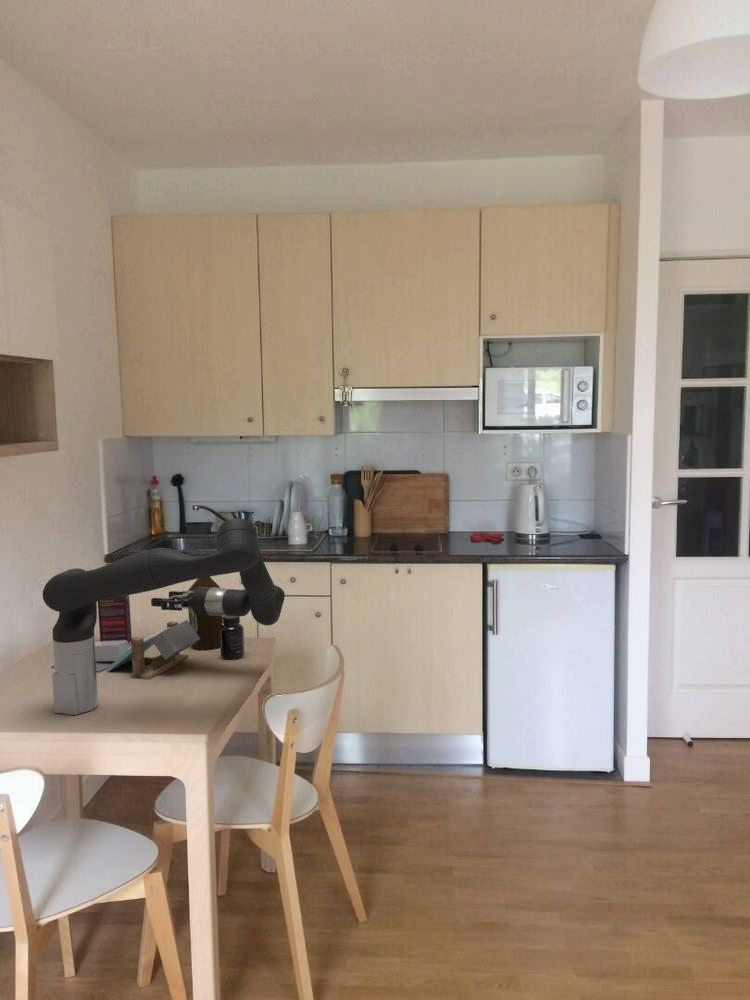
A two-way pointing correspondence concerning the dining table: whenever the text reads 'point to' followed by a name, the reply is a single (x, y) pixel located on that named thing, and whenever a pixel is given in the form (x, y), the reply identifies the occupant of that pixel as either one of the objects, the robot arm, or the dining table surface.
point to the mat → (100, 665)
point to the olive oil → (205, 621)
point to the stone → (110, 650)
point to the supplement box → (115, 619)
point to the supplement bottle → (231, 638)
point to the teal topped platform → (164, 642)
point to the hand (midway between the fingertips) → (160, 598)
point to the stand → (157, 663)
